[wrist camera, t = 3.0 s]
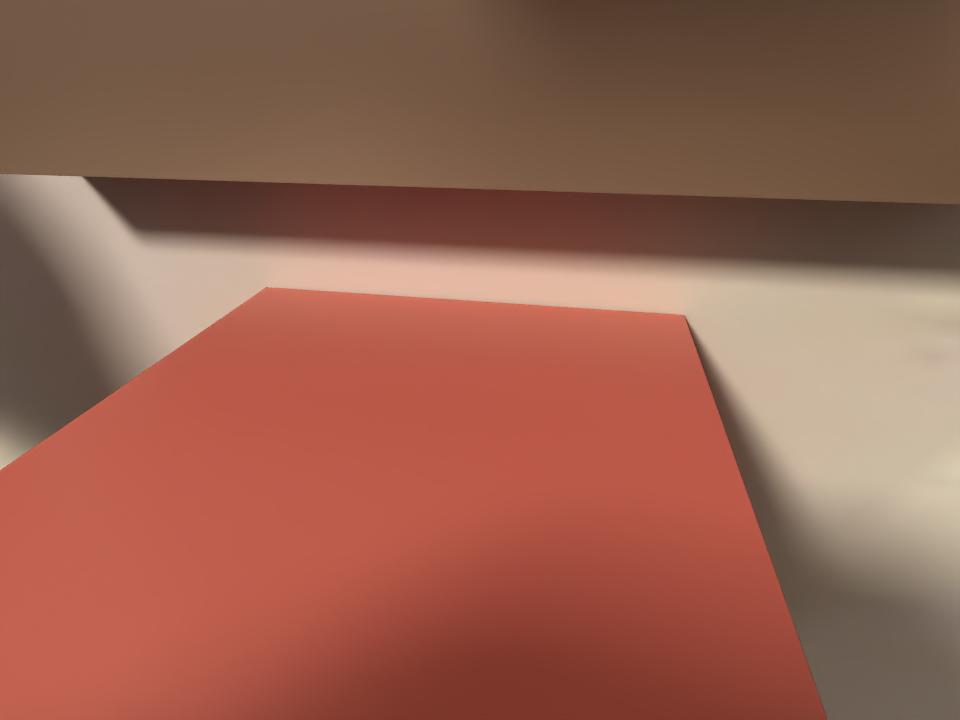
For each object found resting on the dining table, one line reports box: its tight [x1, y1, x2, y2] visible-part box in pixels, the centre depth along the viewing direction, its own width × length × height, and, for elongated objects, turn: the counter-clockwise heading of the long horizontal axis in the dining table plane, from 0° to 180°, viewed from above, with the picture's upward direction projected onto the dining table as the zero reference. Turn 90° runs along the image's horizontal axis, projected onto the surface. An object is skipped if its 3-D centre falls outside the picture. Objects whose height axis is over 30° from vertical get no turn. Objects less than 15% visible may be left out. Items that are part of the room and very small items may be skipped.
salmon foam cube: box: [0, 287, 828, 720], centre depth 6 cm, size 6×6×8 cm
